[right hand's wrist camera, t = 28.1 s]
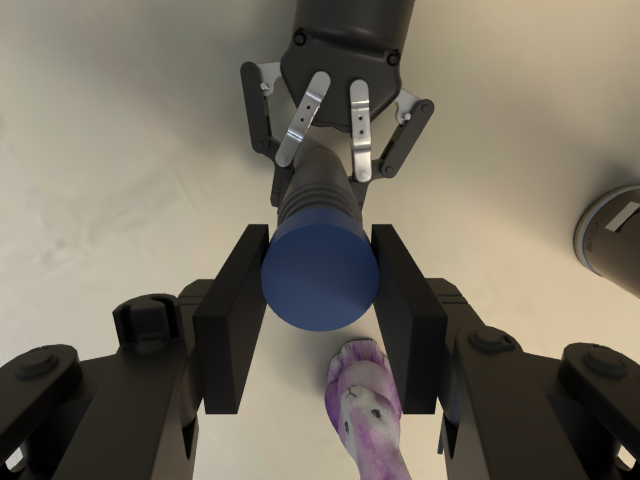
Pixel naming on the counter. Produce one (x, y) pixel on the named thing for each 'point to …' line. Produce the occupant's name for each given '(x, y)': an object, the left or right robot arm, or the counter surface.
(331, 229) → the cap
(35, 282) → the counter surface
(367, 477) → the figurine
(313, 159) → the bottle
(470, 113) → the counter surface
